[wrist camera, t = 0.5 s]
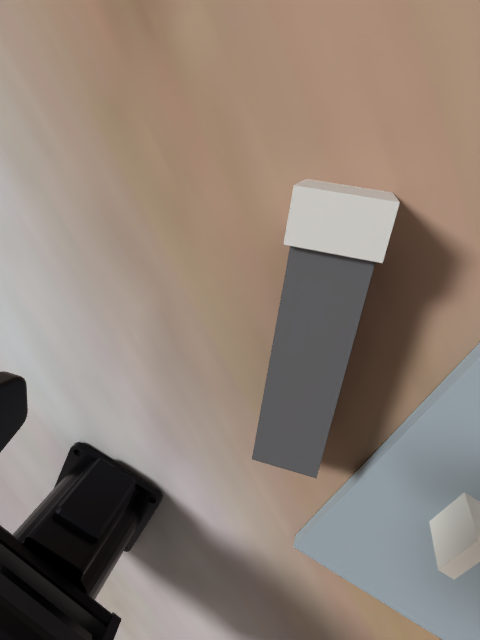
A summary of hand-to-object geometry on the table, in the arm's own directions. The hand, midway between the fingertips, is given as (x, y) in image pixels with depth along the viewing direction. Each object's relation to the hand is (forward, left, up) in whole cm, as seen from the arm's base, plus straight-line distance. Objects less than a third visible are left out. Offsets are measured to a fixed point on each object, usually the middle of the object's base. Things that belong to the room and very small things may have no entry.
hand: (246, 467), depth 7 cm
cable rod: (-2, -1, -12) cm, 12 cm away
